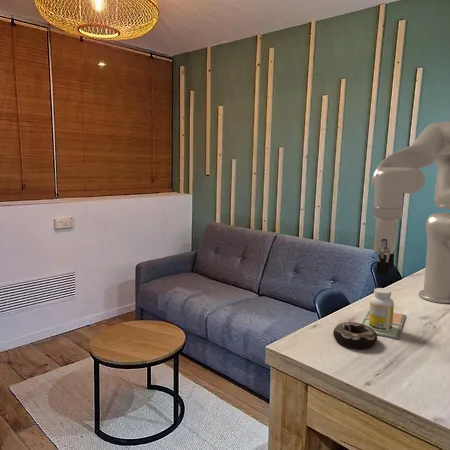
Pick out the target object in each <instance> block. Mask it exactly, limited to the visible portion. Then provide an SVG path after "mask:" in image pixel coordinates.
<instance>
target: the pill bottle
mask: <svg viewBox="0 0 450 450" xmlns="http://www.w3.org/2000/svg"><path fill="white" fill-rule="evenodd" d="M373 290H374V291H373V295H374V296H372V297H371V298H370V304H369V310H370V316H369V326H370V327H371V328H372V329H374V330H377V331H389V330H391V329H392V323H393V313H394V307H395V306H394V305H395V301H394V300H393V299H392V298H391V297H392V291H391V290H390V289H389V288H385V287H384V288H383V287H377V288H374V289H373Z"/></svg>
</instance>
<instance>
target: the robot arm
mask: <svg viewBox="0 0 450 450" xmlns="http://www.w3.org/2000/svg"><path fill="white" fill-rule="evenodd" d="M433 163H435V164H436V181H435V189H434V196H433V197H434V205H435V206H436V207H437V208H439V209H444V210H450V121H440V122H434V123H430V124H428V125H427V126H426V127H425V128H424V129H423V130H422V131H421V133H419V135H418V136H417V138H416V139H415V140H414V141H413V143H412V144H411V145H409V146H407V147H404V148H402V149H400V150H398V151H396V152H394V153H391V154H390V155H388V156H387V157H385V158H384V159H383V160H382V161H381V162H380V164H378V166H377V167H376V168H375V170H374V172H373V174H372V176H371V177H372V178H371V184H372V187H373V189H374V200H373V201H374V202H373V204H374V205H373V218H374V219H376V222H375V230H374V241H373V243H374V245H373V246H374V247H373V252H374V254H377V253H378V255H377V261H376V275H377V276H383V277H389V276H390V268H393V267H394V261H395V253H394V252H395V249H396V245H397V235H398V220H402V219H403V205H404V204H403V203H404V194H416V193H417V192H420V191H421V190H422V188H423V187H424V186H425V182H426V181H425V180H426V179H425V174H424V172H423V171H422V170H421V169H423V168H426V167H429V166H431V165H432V164H433ZM425 221H426V223H425V229H426V240H427V241H426V243H427V245H426V258H425V269H424V270H425V271H424V282H423V289H422V290H419V291H418V296H419V297H420V298H421V299H422V300H425V301H429V302H433V303H438V304H450V212H435V213H432V214H430V215H429V216H428V217H427V219H426V220H425Z"/></svg>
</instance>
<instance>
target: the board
mask: <svg viewBox="0 0 450 450" xmlns="http://www.w3.org/2000/svg"><path fill="white" fill-rule="evenodd" d="M369 316H370V309H369V311H368V312H367V313H366V315H365V316H364V319H363V320H362V322H361V324H364V325H367V326H369ZM405 319H406V314H402V313H397V312H393V323H392V329H391V330H389V331H377V330H374V329H373V330H374V331H375V332H376V334H377V337H384V338H388V339H393V340H399V338H400V336H401V331H402V328H403V326H404V323H403V322H405ZM402 325H403V326H402ZM369 327H370V326H369Z"/></svg>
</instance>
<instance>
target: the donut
mask: <svg viewBox="0 0 450 450" xmlns="http://www.w3.org/2000/svg"><path fill="white" fill-rule="evenodd" d="M332 336H333V337H334V340H335V341H336V342H337V343H339V344H340V345H342V346H344V347H346V348H351V349H356V350H357V349H358V350H361V349H362V350H364V349H369V348H372V347H373V346H375V345H376V343H377V342H378V335H377V334H376V332H375V331H374V330H373V329H372V328H371V327H369V326H367V325H364V324H362V322H361V323H360V322H356V321H355V322H353V321H345V322H341V323H339V324H337V325H336V326H335V327H334V329H333V332H332Z"/></svg>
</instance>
